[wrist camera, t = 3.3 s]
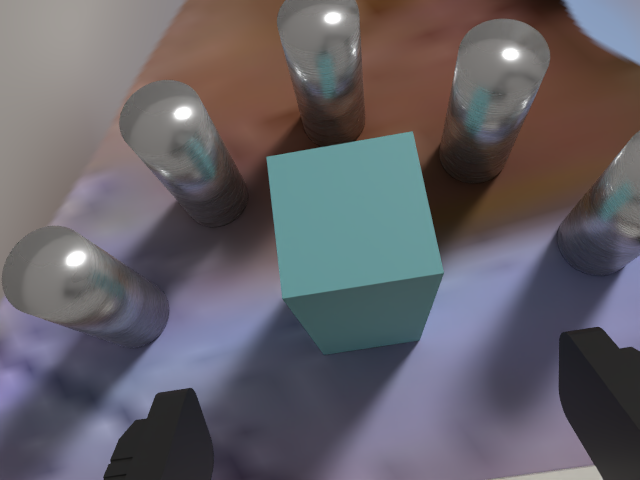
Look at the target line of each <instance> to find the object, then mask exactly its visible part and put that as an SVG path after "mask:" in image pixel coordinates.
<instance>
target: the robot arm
mask: <svg viewBox="0 0 640 480" xmlns="http://www.w3.org/2000/svg"><path fill="white" fill-rule="evenodd" d="M559 396H560V401H561V404H562V408H563V411H564V413H565V415H566V418H567V419H568V421H569V423H570V424H571V426H572V428H573V430H574V431H575V433H576V435H577V436H578V438H579V440H580V441H581V443H582V445H583V446H584V448H585V450H586V451H587V453H588V455H589V456H590V458H591V460H592V461H593V463H594V465H595V466H596V468H597V470H598V471H599V473H600V475H601V476H602V478H603V480H640V351H638V350H636V349H634V348H633V347H627V348H621V349H619V348H618V346H617V345H616V344H615V343H614V342H613V341H612V339H611V338H610V337H609V336H608V335H607V334H606V332H605V331H604V330H603V329H602V328H600V327H594V328H587V329H581V330H574V331H568V332H563V333H561V335H560V339H559ZM213 464H214V453H213V445H212V440H211V437H210V434H209V431H208V428H207V425H206V422H205V419H204V416H203V413H202V410H201V407H200V404H199V401H198V398H197V395H196V393H195V391H194V390H193V389H192V388H187V389H181V390H174V391H167V392H161V393H158V394H157V395H156V396H155V398H154V401H153V403H152V406H151V409H150V412H149V414H148V417H147V419H141V420H135V421H134V423H133V424H132V425H131V426H130V427H129V428H128V429H127V431H126V432H125V433H124V434H123V435H122V436H121V438H120V439H119V440H118V443H117V445H116V448H115V450H114V453H113V455H112V457H111V464H109V465H108V467H107V470H106V472H105V474H104V477H103V478H104V480H211V477H212V472H213Z"/></svg>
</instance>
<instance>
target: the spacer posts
mask: <svg viewBox="0 0 640 480" xmlns="http://www.w3.org/2000/svg"><path fill="white" fill-rule="evenodd" d="M277 26H278V30H279V34H280V38H281V42H282V46H283V49H284V53H285V57H286V61H287V65H288V69H289V73H290V76H291V80H292V84H293V88H294V92H295V96H296V100H297V103H298V107H299V111H300V115H301V119H302V123H303V126H304V130H305V132H306V134H307V136H308V137H309V138H310V139H311V140H312V141H313V142H314V143H316V144H318V145H320V146H323V147H326V146H332V145H337V144H343V143H349V142H353V141H354V140H355V139H356V138H357V137H358V136H359V135H360V134H361V132H362V130H363V128H364V125H365V106H364V89H363V72H362V55H361V39H360V22H359V10H358V6H357V4H356V2H355V0H286V1H285V2H284V3H283V4H282V6H281V8H280V10H279V13H278V17H277ZM549 62H550V52H549V48H548V45H547V43H546V41H545V39H544V38H543V36H542V35H541V34H540V33H539V32H538V31H537V30H536V29H534V28H533V27H531V26H529V25H528V24H525V23H523V22H520V21H517V20H511V19H495V20H490V21H486V22H484V23H481V24H479V25H477V26H476V27H474V28H473V29H471V30H470V31H469V32H468V33H467V34H466V35H465V37H464V38H463V40H462V42H461V44H460V47H459V52H458V57H457V62H456V67H455V72H454V78H453V83H452V88H451V93H450V98H449V103H448V109H447V114H446V119H445V124H444V129H443V135H442V140H441V145H440V151H439V156H440V161H441V163H442V166H443V167H444V169H445V170H446V171H447V173H449V174H450V175H451V176H452V177H454V178H455V179H457V180H459V181H462V182H466V183H482V182H486V181H489V180H491V179H493V178H494V177H496V176H497V175H498V174H499V173H500V172H501V171H502V169H503V167H504V165H505V163H506V161H507V159H508V156H509V154H510V152H511V150H512V147H513V145H514V143H515V141H516V138H517V136H518V134H519V132H520V129H521V127H522V125H523V122H524V120H525V118H526V116H527V113H528V111H529V109H530V107H531V104H532V102H533V100H534V98H535V95H536V93H537V91H538V89H539V86H540V84H541V82H542V80H543V77H544V75H545V73H546V71H547V68H548V66H549ZM119 125H120V131H121V134H122V137H123V138H124V140H125V142H126V143H127V144H128V145H129V146H130V147H131V148H132V150H133V151H134V152H135V153H136V154H137V155H138V156H139V158H140V159H141V160H142V161H143V162H144V163H145V164H146V166H147V167H148V168H149V169H150V170H151V171H152V172H153V174H154V175H155V176H156V177H157V178H158V179H159V180H160V182H161V183H162V184H163V185H164V186H165V187H166V188H167V190H168V191H169V192H170V193H171V194H172V195H173V196H174V198H175V199H176V200H177V201H178V202H179V203H180V204H181V206H182V207H183V208H184V209H185V210H186V211H187V212H188V214H189V215H190V216H191V217H192V218H193V219H194V220H195V221H196V222H198V223H199V224H202V225H204V226H209V227H219V226H223V225H226V224H228V223H230V222H232V221H234V220H235V219H236V218H237V217H238V216H239V215H240V214H241V213H242V212H243V210H244V208H245V207H246V204H247V201H248V188H247V185H246V183H245V181H244V179H243V177H242V175H241V173H240V172H239V170H238V168H237V166H236V164H235V162H234V161H233V159H232V157H231V155H230V153H229V151H228V150H227V148H226V146H225V144H224V142H223V140H222V139H221V137H220V135H219V133H218V131H217V129H216V128H215V126H214V124H213V122H212V120H211V118H210V117H209V115H208V113H207V111H206V109H205V107H204V106H203V104H202V102H201V100H200V98H199V96H198V95H197V93H196V92H195V91H194V90H193V89H192V88H191V87H189V86H188V85H186V84H184V83H182V82H179V81H174V80H162V81H156V82H153V83H150V84H148V85H146V86H144V87H142V88H140V89H139V90H137V91H136V92H135V93H134V94H133V95H132V96H131V97H130V98H129V99H128V100H127V102H126V103H125V105H124V107H123V109H122V112H121V115H120V122H119ZM557 240H558V246H559V249H560V252H561V254H562V255H563V257H564V258H565V260H566V261H567V262H568V263H569V264H570V265H572V266H573V267H574V268H576V269H577V270H579V271H581V272H584V273H586V274H590V275H600V276H601V275H608V274H612V273H614V272H616V271H618V270H620V269H621V268H623V267H624V266H626V265H627V264H628V263H630V262H631V261H633V260H634V259H635V258H637V257H638V256H640V131H639V132H637V133H636V134H635V135H634V136H633V137H632V138H631V139H630V141H629V142H628V143H627V144H626V145H625V147H624V148H623V149H622V150H621V152H620V153H619V154H618V155H617V156H616V158H615V159H614V160H613V161H612V162H611V164H610V165H609V166H608V167H607V168H606V170H605V171H604V172H603V173H602V174H601V176H600V177H599V178H598V179H597V181H596V182H595V183H594V184H593V185H592V187H591V188H590V189H589V190H588V191H587V193H586V194H585V195H584V196H583V197H582V199H581V200H580V201H579V202H578V203H577V205H576V206H575V207H574V208H573V210H572V211H571V212H570V213H569V214H568V216H567V217H566V218H565V219H564V220H563V222H562V223H561V225H560V227H559V230H558V236H557ZM2 286H3V290H4V293H5V296H6V298H7V299H8V301H9V302H10V303H11V304H12V305H13V306H14V307H15V308H16V309H18V310H20V311H22V312H24V313H27V314H30V315H33V316H36V317H39V318H42V319H44V320H47V321H50V322H53V323H56V324H59V325H62V326H65V327H68V328H70V329H73V330H76V331H79V332H82V333H85V334H88V335H91V336H94V337H96V338H99V339H102V340H105V341H108V342H111V343H114V344H117V345H120V346H122V347H126V348H138V347H142V346H145V345H147V344H149V343H151V342H152V341H154V340H155V339H156V338H157V337H158V336H159V335H160V334H161V333H162V331H163V330H164V328H165V326H166V324H167V321H168V318H169V303H168V300H167V297H166V295H165V293H164V292H163V291H162V290H161V289H160V288H159V287H158V286H156V285H155V284H153V283H152V282H150V281H149V280H147V279H146V278H144V277H143V276H141V275H140V274H138V273H137V272H135V271H134V270H132V269H131V268H129V267H128V266H126V265H125V264H123V263H122V262H120V261H119V260H117V259H116V258H114V257H113V256H111V255H110V254H108V253H107V252H105V251H104V250H102V249H101V248H99V247H98V246H96V245H95V244H93V243H92V242H90V241H89V240H87V239H86V238H84V237H83V236H81V235H80V234H78V233H77V232H75V231H74V230H72V229H69V228H66V227H62V226H48V227H44V228H40V229H38V230H36V231H33V232H31V233H30V234H28V235H27V236H25V237H24V238H23V239H21V240H20V241H19V242H18V243H17V244H16V246H15V247H14V248H13V249H12V251H11V252H10V254H9V256H8V257H7V259H6V262H5V264H4V268H3V273H2Z"/></svg>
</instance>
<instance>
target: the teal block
mask: <svg viewBox="0 0 640 480" xmlns="http://www.w3.org/2000/svg"><path fill="white" fill-rule="evenodd" d="M267 166H268V175H269V184H270V193H271V202H272V210H273V219H274V228H275V237H276V246H277V255H278V264H279V273H280V282H281V290H282V299H283V300H284V301H285V303H286V304H287V306H288V307H289V308H290V310H291V311H292V312H293V314H294V315H295V316H296V318H297V319H298V320H299V322H300V323H301V325H302V326H303V327H304V329H305V330H306V331H307V333H308V334H309V335H310V337H311V338H312V340H313V341H314V342H315V344H316V345H317V346H318V348H319V349H320V350H321V352H322V353H323V354H324V355H327V354H334V353H340V352H347V351H353V350H360V349H366V348H373V347H380V346H386V345H393V344H399V343H406V342H413V341H419V340H420V338H421V335H422V332H423V330H424V327H425V324H426V321H427V318H428V316H429V313H430V310H431V307H432V305H433V302H434V299H435V296H436V293H437V291H438V288H439V285H440V282H441V280H442V277H443V274H444V272H443V267H442V263H441V258H440V253H439V249H438V244H437V240H436V235H435V231H434V226H433V222H432V217H431V213H430V208H429V204H428V199H427V194H426V190H425V185H424V181H423V176H422V172H421V167H420V163H419V158H418V154H417V149H416V145H415V140H414V135H413V131H412V132H407V133H401V134H395V135H389V136H384V137H378V138H372V139H366V140H360V141H355V142H349V143H343V144H337V145H332V146H326V147H320V148H314V149H309V150H303V151H297V152H291V153H286V154H280V155H274V156H268V157H267Z"/></svg>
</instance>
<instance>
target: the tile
mask: <svg viewBox="0 0 640 480" xmlns="http://www.w3.org/2000/svg"><path fill="white" fill-rule="evenodd" d="M488 480H603V478H602V476H601V475H600V473H599V471H598V470H597V468H596V466H595V465H590V466H583V467H576V468H568V469H561V470H554V471H546V472H539V473H532V474H524V475H517V476H510V477H502V478H495V479H488Z"/></svg>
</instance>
